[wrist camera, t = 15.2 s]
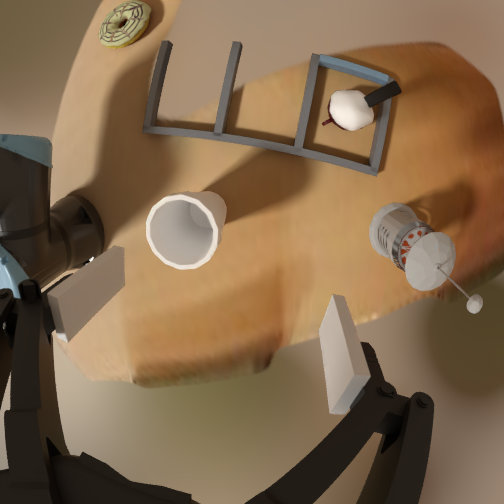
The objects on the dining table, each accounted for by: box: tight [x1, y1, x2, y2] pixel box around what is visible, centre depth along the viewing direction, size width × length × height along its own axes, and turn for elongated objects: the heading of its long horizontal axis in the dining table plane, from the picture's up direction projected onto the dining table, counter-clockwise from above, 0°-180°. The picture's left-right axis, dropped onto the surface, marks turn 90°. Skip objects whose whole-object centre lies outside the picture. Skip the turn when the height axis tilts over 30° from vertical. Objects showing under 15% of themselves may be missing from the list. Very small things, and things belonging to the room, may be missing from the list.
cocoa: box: [322, 81, 401, 131], centre depth 31 cm, size 10×6×12 cm, turn 100°
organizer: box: [142, 41, 394, 177], centre depth 36 cm, size 37×17×2 cm, turn 80°
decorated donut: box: [99, 0, 151, 49], centre depth 31 cm, size 10×11×4 cm
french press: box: [369, 203, 483, 314], centre depth 30 cm, size 10×12×25 cm
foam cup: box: [146, 191, 227, 269], centre depth 38 cm, size 10×9×13 cm
